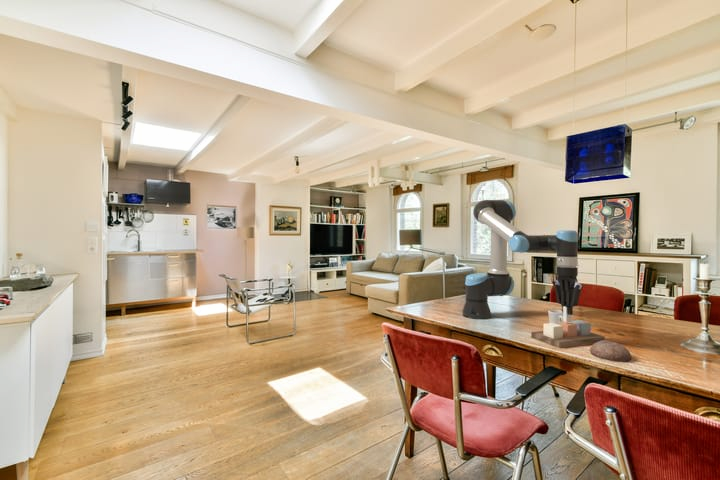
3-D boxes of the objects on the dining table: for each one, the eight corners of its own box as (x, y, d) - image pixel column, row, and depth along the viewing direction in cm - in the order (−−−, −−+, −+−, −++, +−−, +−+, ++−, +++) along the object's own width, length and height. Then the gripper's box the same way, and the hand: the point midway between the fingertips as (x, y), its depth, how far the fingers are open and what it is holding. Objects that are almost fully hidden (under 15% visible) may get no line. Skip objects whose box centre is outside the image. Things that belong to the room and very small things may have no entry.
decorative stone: (582, 352, 123) (582, 338, 123) (606, 349, 126) (606, 335, 126) (613, 364, 111) (613, 348, 111) (639, 360, 114) (639, 345, 114)
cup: (573, 332, 147) (573, 315, 147) (554, 331, 149) (554, 314, 149) (563, 326, 158) (563, 309, 158) (545, 325, 159) (545, 309, 159)
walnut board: (531, 337, 140) (531, 332, 140) (573, 332, 147) (574, 327, 147) (559, 348, 127) (559, 342, 127) (604, 342, 133) (604, 336, 133)
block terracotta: (557, 333, 138) (557, 322, 138) (566, 332, 140) (566, 321, 140) (567, 337, 134) (567, 325, 134) (577, 336, 135) (577, 324, 135)
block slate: (570, 332, 140) (570, 321, 140) (579, 331, 142) (579, 320, 142) (581, 335, 136) (581, 324, 136) (590, 334, 137) (590, 323, 137)
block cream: (543, 335, 136) (543, 323, 136) (552, 334, 138) (552, 322, 138) (553, 339, 132) (553, 326, 132) (563, 337, 133) (563, 325, 133)
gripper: (547, 265, 142) (547, 318, 142) (574, 268, 129) (574, 326, 129) (560, 265, 144) (560, 317, 144) (588, 267, 131) (588, 324, 131)
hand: (567, 321), depth 137 cm, fingers closed
